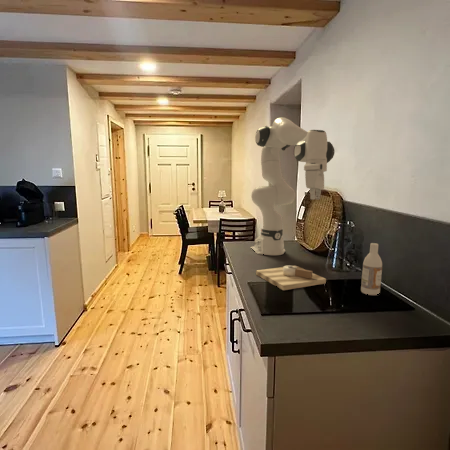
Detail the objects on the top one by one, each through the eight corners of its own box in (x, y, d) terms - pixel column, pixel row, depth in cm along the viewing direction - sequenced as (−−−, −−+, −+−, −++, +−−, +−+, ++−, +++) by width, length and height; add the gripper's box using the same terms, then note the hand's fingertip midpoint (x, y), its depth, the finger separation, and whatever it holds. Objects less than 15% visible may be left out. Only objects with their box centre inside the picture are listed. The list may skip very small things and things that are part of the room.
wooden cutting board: (256, 274, 152) (256, 270, 152) (295, 269, 161) (295, 264, 161) (283, 290, 133) (283, 285, 132) (325, 283, 142) (326, 278, 141)
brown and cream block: (280, 274, 146) (281, 266, 145) (286, 271, 151) (286, 263, 150) (308, 280, 138) (309, 271, 138) (314, 276, 143) (314, 268, 143)
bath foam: (373, 297, 127) (377, 246, 123) (357, 291, 132) (361, 243, 129) (383, 293, 130) (388, 244, 127) (367, 288, 136) (371, 241, 133)
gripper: (314, 169, 153) (313, 199, 154) (302, 165, 135) (302, 199, 136) (328, 169, 150) (327, 199, 151) (318, 164, 132) (317, 199, 133)
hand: (315, 199), depth 143 cm, fingers open, 8 cm apart
